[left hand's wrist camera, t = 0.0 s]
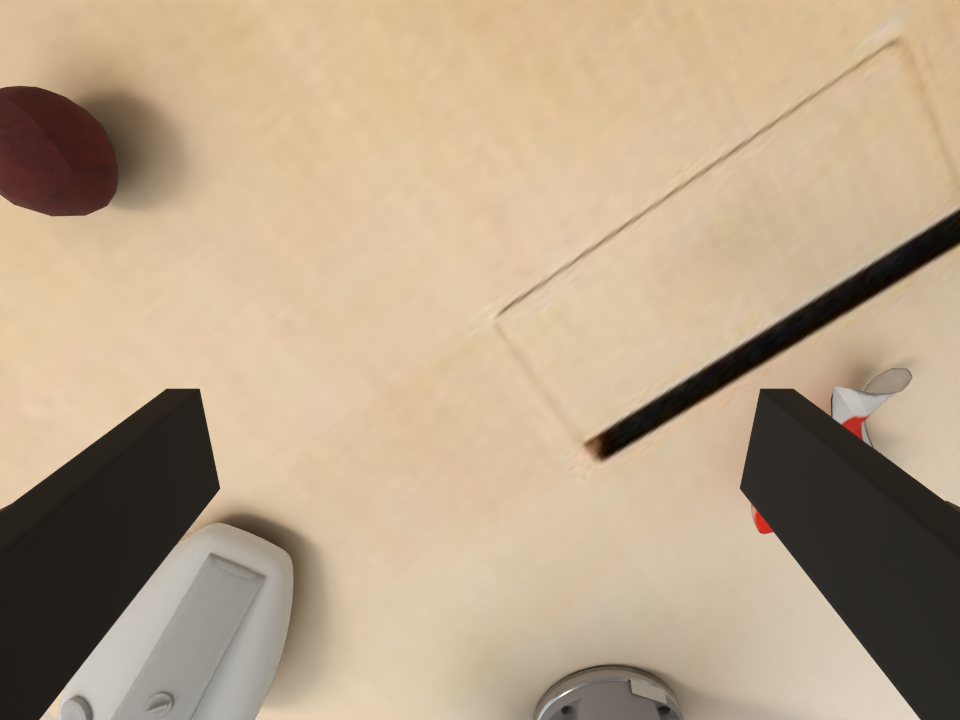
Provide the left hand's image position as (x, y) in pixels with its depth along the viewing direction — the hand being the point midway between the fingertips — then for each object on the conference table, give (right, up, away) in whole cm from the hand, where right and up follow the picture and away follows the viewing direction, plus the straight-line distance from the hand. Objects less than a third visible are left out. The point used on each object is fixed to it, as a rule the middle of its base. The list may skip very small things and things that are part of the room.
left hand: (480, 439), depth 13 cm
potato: (-27, +16, +24) cm, 39 cm away
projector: (-26, -22, +38) cm, 51 cm away
